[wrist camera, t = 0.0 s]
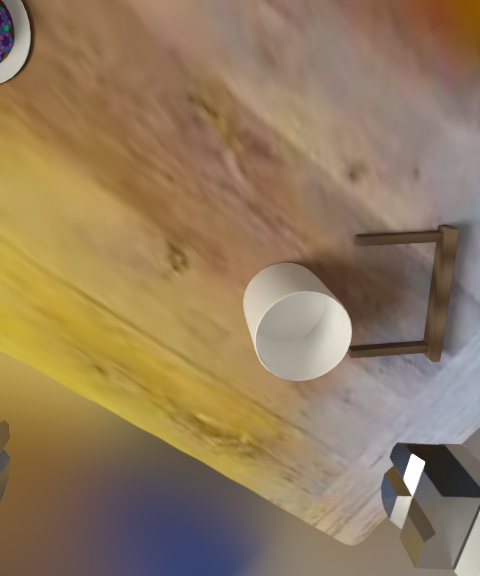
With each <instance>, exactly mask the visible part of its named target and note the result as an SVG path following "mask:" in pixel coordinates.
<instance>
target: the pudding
mask: <svg viewBox="0 0 480 576" xmlns="http://www.w3.org/2000/svg"><path fill="white" fill-rule="evenodd" d="M2 1H3V2H4V4H5V5H6V7H7V9H8V10H9V13H10V14H9V13H8V11H7V10H6V9H4V8H2V7H1V6H0V62H1V61H2V54H4V53H7V52H9V51H10V50H11V48H12V50H11V52H10V54H9V55H8V57H7V58H6V59H5V60H4V61H3V62H2V63H0V83H2V82H5V81H7V80H8V79H10V78H11V77H13V76H14V75H15V74H16V73H17V72H18V71H19V70H20V68H21V67H22V65H23V64H24V62H25V60H26V58H27V55H28V52H29V47H30V36H31V33H30V24H29V20H28V16H27V13H26V10H25V8H24V5H23V3H22V1H21V0H2ZM10 15H11V16H10ZM11 17H12V19H11ZM12 21H13V24H14V31H15V35H14V44H13V38H12V36H11V34H10V32H9V31H10V29H11V27H12ZM12 46H13V47H12Z"/></svg>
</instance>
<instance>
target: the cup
mask: <svg viewBox="0 0 480 576" xmlns="http://www.w3.org/2000/svg"><path fill="white" fill-rule="evenodd" d="M243 308H244V312H245V317H246V320H247V323H248V327H249V330H250V334H251V337H252V340H253V344H254V347H255V350H256V354H257V356H258V358H259V360H260V362H261V363H262V364H263V365H264V367H265V368H266V369H267V370H269V371H270V372H271V373H273V374H274V375H276V376H278V377H281V378H283V379H288V380H292V381H303V380H310V379H314V378H317V377H319V376H322V375H324V374H325V373H327V372H329V371H330V370H332V369H333V368H334V367H335V366H336V365H338V363H339V362H340V361H341V360H342V359H343V357H344V356H345V354H346V352H347V350H348V349H349V346H350V342H351V339H352V324H351V319H350V317H349V314H348V312H347V310H346V309H345V308H344V306H343V305H342V304H341V302H340V301H339V300H338V299H337V298H336V297H335V296H334V295H333V294H332V293H331V292H330V290H329V289H328V288H327V287H326V286H325V285H324V284H323V283H322V282H321V281H320V280H319V278H318V277H317V276H316V275H314V274H313V273H312V272H311V271H310V270H309V269H307V268H305V267H303V266H302V265H298V264H295V263H278V264H274V265H271V266H268V267H266V268H265V269H263V270H261V271H260V272H259V273H258V274H257V275H255V276H254V277H253V279H252V280H251V281H250V283H249V284H248V286H247V289H246V291H245V295H244V299H243Z"/></svg>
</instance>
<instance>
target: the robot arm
mask: <svg viewBox="0 0 480 576" xmlns="http://www.w3.org/2000/svg"><path fill="white" fill-rule="evenodd" d="M9 435H10V434H9V424H8V423H7V421H5V420H0V502H1V500H2V498H3V496H4V493H5V490H6V487H7V484H8V481H9V474H10V456H9V455H8V454H7V453H6V451H5V450H4V449H3V448H4V447H5V445H6V443H7V442H8V440H9V438H10V436H9ZM390 459H391V461H392V463H393V465H394V466H393V467H392V468H390V469H389V470H388V471H387V472H386V473H385V474H384V478H383V481H382V485H381V491H382V502H383V505H384V509H385V511H386V513H387V515H388V517H389V519H390V520H391V521H392V522H393V523H395V524H396V525H397V526H398V527H400V528H401V533H400V540H401V542H402V544H403V546H404V548H405V550H406V552H407V553H408V555H409V557H410V559H411V561H412V563H413V565H414V567H415V568H425V569H449V570H455V571H454V572H455V573H456V574H457V575H458V576H480V462H479V460H478V459H477V458H476V457H475V456H474V455H473V454H472V453H471V452H470V451H469V449H468V448H466V447H464V446H462V445H460V444H439V445H436V444H417V443H397V444H396V445H395V446H394V447H393V449H392V452H391V455H390Z"/></svg>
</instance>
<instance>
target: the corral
mask: <svg viewBox="0 0 480 576" xmlns="http://www.w3.org/2000/svg"><path fill="white" fill-rule="evenodd" d="M458 235H459V229H458V228H455V227H452V226H449V225H439V226H438V231H426V232H406V233H386V234H367V235H355V244H356V245H358V246H369V245H388V244H407V243H426V242H436V249H435V257H434V264H433V272H432V280H431V287H430V295H429V303H428V311H427V318H426V326H425V334H424V341H416V342H403V343H389V344H376V345H362V346H349V349H348V355H349V356H350V357H351V358H362V357H375V356H388V355H401V354H414V353H423V354H424V355H425V356H426V357H428V358H429V359H430V360H431V361H432V362H438V361H440V358H441V351H442V344H443V337H444V331H445V324H446V317H447V310H448V303H449V297H450V290H451V283H452V276H453V269H454V262H455V256H456V249H457V242H458Z"/></svg>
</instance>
